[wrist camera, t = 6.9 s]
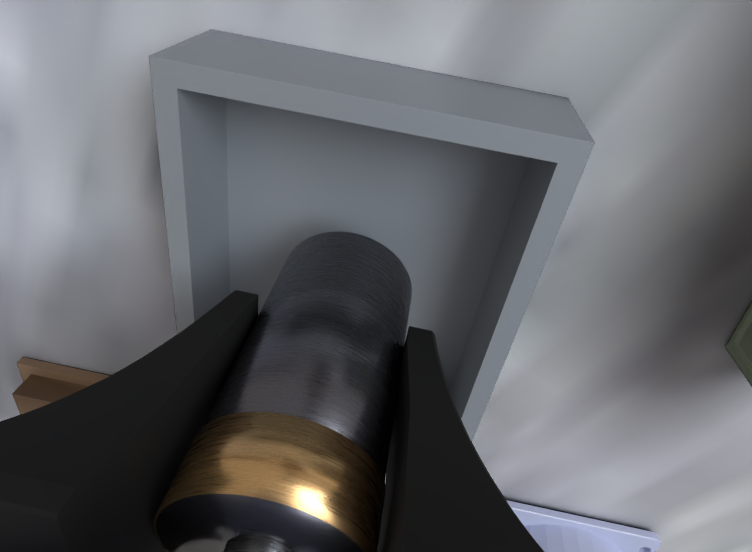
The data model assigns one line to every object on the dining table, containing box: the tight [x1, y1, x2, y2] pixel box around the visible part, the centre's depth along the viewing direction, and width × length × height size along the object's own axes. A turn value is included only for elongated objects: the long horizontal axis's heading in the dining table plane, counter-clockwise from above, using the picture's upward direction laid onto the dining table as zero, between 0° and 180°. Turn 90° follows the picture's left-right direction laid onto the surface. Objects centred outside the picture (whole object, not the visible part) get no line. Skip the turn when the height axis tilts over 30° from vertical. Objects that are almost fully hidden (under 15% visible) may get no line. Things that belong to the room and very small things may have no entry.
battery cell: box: [154, 231, 412, 552], centre depth 12 cm, size 4×4×9 cm
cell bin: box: [149, 30, 595, 442], centre depth 16 cm, size 12×10×4 cm
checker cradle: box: [13, 357, 109, 415], centre depth 25 cm, size 9×9×2 cm
